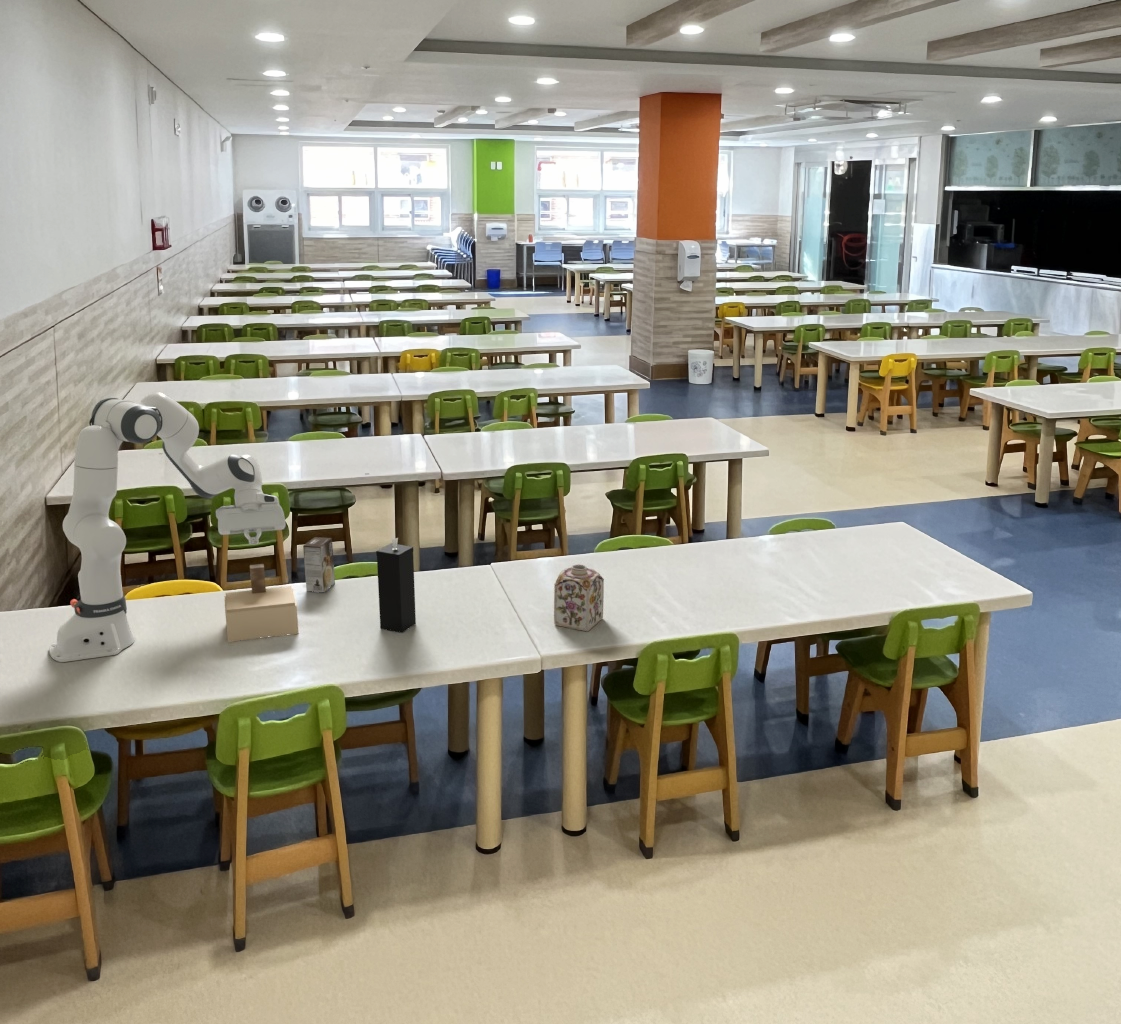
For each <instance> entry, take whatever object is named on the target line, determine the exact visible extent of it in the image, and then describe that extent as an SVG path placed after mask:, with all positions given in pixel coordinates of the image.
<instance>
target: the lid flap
mask: <svg viewBox="0 0 1121 1024" xmlns="http://www.w3.org/2000/svg"><path fill="white" fill-rule="evenodd" d="M249 573H250V575H249V576H250V584H251V585H250V587H251V589H249V590H239V591H230V592H225V596H226V610H227V613H230V612H240V611H249V610H258V609H267V608H277V607H286V606H295V601H296V600H295V601H294V596H295V595H294V596H293V592H294V591H293V592H292V589H293V588H292V585H289V586H279V587H268V588H267V587H266V577H265V565H264V563H260V564H259V563H257V564H250V565H249Z"/></svg>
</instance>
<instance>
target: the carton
mask: <svg viewBox="0 0 1121 1024" xmlns="http://www.w3.org/2000/svg"><path fill="white" fill-rule="evenodd" d="M292 592H293V596H294V601H295V606H286V607H277V608H267V609H258V610H249V611H240V612H230V613H227V610H226V595H224V596H223V597H224V598H223V600H224V613H225V614H224V615H225V621H226V622H225V624H226V633H227V642H228V643H231V642H240V640H241V641H248V640H247V639H249V640H253V639H252V638H258V639H261V638H260V637H267V638H269V637H268V636H275V637H281V636H280V635H284V636H288V635H287V634H292V635H299V621H298V620H299V619H298V605H297V602H296V597H295V596H296V595H295V593H294V589H293V588H292Z"/></svg>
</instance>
